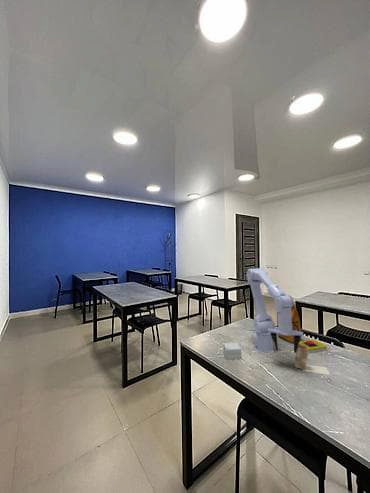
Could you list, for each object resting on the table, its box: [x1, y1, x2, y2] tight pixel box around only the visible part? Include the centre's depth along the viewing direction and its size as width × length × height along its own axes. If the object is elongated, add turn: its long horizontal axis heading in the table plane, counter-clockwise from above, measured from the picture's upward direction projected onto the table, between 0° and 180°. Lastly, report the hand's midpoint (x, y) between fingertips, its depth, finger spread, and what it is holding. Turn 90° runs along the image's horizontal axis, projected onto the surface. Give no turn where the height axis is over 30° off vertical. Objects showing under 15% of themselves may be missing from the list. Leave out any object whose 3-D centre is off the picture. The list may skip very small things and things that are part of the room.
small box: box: [223, 342, 242, 360], centre depth 111 cm, size 8×8×5 cm
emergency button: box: [299, 339, 331, 354], centre depth 115 cm, size 9×4×15 cm
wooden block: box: [294, 344, 309, 370], centre depth 97 cm, size 4×4×9 cm
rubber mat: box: [302, 364, 330, 376], centre depth 97 cm, size 20×14×1 cm
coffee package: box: [276, 304, 302, 344], centre depth 128 cm, size 10×12×22 cm
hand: (285, 350), depth 99 cm, fingers open, 7 cm apart
